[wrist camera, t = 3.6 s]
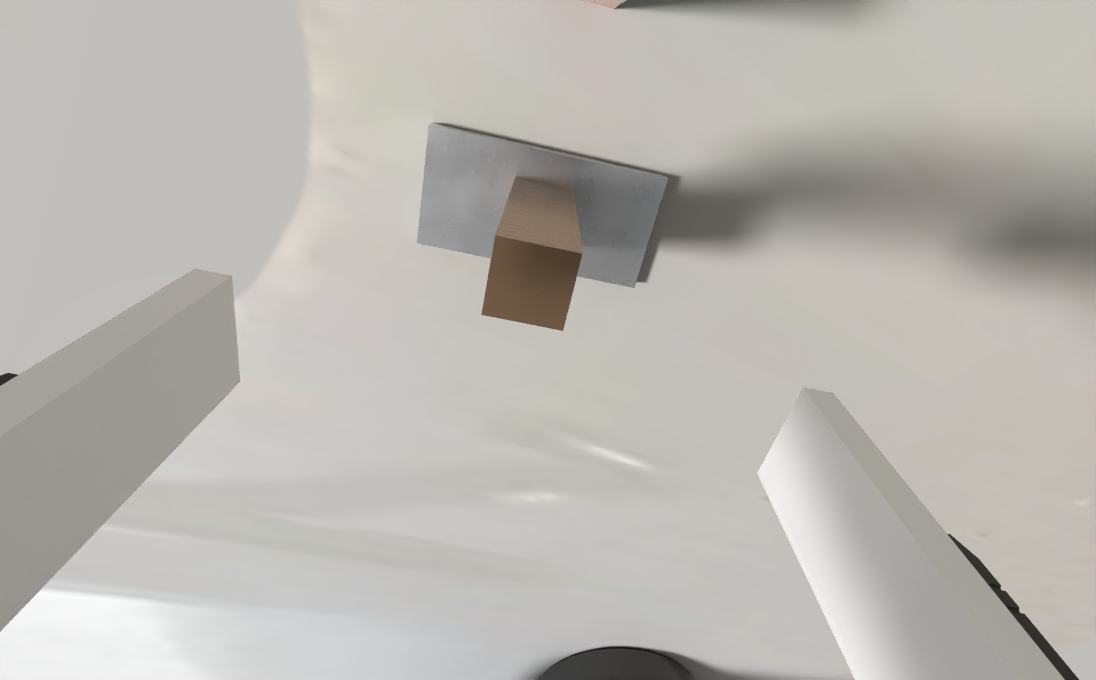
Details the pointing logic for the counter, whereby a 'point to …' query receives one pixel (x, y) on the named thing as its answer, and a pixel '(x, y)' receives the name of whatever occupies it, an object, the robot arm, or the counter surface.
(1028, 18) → the counter surface
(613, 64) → the counter surface
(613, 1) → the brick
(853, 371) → the counter surface
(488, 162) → the trowel
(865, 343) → the counter surface
